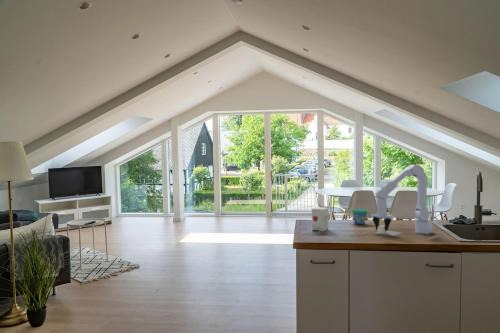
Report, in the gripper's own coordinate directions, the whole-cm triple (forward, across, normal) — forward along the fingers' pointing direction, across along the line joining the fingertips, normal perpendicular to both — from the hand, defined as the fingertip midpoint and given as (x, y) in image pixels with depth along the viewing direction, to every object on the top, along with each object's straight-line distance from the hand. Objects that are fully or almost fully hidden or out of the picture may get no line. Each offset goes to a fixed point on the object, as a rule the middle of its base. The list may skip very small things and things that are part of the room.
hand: (381, 229), depth 266 cm
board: (+3, +3, +3) cm, 5 cm away
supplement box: (+4, -40, -12) cm, 41 cm away
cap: (+2, 0, 0) cm, 2 cm away
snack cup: (+4, -34, +26) cm, 43 cm away
